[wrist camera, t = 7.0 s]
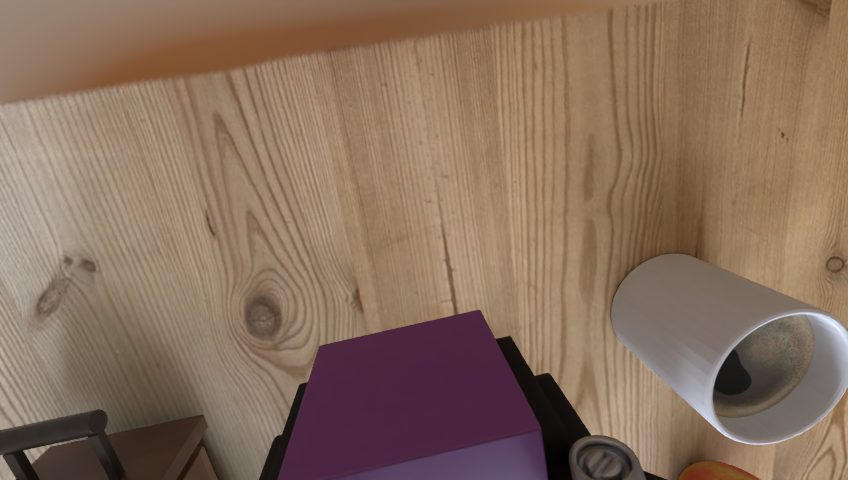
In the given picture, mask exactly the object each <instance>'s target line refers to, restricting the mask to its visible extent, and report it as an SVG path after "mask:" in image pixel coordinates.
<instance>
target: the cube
mask: <svg viewBox="0 0 848 480" xmlns="http://www.w3.org/2000/svg"><path fill="white" fill-rule="evenodd" d="M277 480H548V473H547V466H546V459H545V452H544V445H543V438H542V431H541V426H540V425H539V423H538V421H537V419H536V417H535V415H534V413H533V411H532V409H531V407H530V405H529V403H528V401H527V399H526V398H525V396H524V394H523V392H522V390H521V388H520V386H519V384H518V382H517V380H516V378H515V376H514V374H513V372H512V370H511V369H510V367H509V365H508V363H507V361H506V359H505V357H504V355H503V353H502V351H501V349H500V347H499V345H498V343H497V342H496V340H495V338H494V336H493V334H492V332H491V330H490V328H489V326H488V324H487V322H486V320H485V318H484V316H483V315H482V313H481V311H480V310H476V311H471V312H467V313H463V314H458V315H454V316H449V317H445V318H440V319H436V320H432V321H427V322H423V323H418V324H414V325H409V326H405V327H401V328H396V329H392V330H387V331H383V332H379V333H374V334H370V335H365V336H361V337H356V338H352V339H348V340H343V341H339V342H334V343H330V344H325V345H321V346H319V349H318V352H317V355H316V358H315V361H314V364H313V368H312V371H311V374H310V377H309V380H308V384H307V387H306V390H305V393H304V396H303V399H302V403H301V406H300V409H299V412H298V415H297V419H296V422H295V425H294V428H293V431H292V435H291V438H290V441H289V444H288V447H287V450H286V454H285V457H284V460H283V463H282V466H281V470H280V473H279V476H278V479H277Z"/></svg>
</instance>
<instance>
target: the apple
mask: <svg viewBox="0 0 848 480" xmlns="http://www.w3.org/2000/svg"><path fill="white" fill-rule="evenodd" d="M678 480H760V479H758V478H757V477H755V476H754V475H752V474H750V473H748V472H746V471H744V470H742V469H740V468H737V467H735V466H732V465H729V464H725V463H721V462H715V461H703V462H697V463H694V464H692V465H690V466H688V467H687V468H686V469H684V470H683V472H682V473H681V474H680V476H679V478H678Z"/></svg>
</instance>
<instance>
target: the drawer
mask: <svg viewBox="0 0 848 480" xmlns="http://www.w3.org/2000/svg"><path fill="white" fill-rule="evenodd" d="M107 421H108V418H107V414H106V412H105V411H103V410H100V409H98V410H93V411H89V412H84V413H79V414H75V415H70V416H65V417H60V418H56V419H51V420H46V421H42V422H37V423H32V424H27V425H23V426H18V427H13V428H8V429H4V430H0V455H3V454H4V455H3V458H4V459H5V461H6V462H7V464H8V466H9V467H10V469H11V471H12V472H13V474H14V476H15V477H16V480H218V479H217V477H216V475H215V472H214V470H213V467H212V465H211V463H210V460H209V458H208V456H207V453H206V451H205V449H204V446H200V447H196V446H197V444H198V443H199V441H200V439H201V438H202V436H203V435H204V433H205V431H206V430H207V428H208V425H207V422H206V420H205V417H204V415H203V414H202V415H197V416H193V417H188V418H183V419H179V420H174V421H169V422H165V423H160V424H155V425H151V426H146V427H141V428H137V429H132V430H127V431H123V432H118V433H113V434H109V435H107V434H106V432H105V431H104V429H105V428H106V426H107ZM83 437H88V439H85V440H81V441H76V442H71V443H67V444H62V445H57V446H53V447H50V448H49V449H48V450H47V451H45V452H44V453H43V454H42V455H41V456H40V457H39V458H38V459H37V460H36V461H35V462H34V463H33V464H32V465H31V463H30V462H29V460H28V458H27V456H26V455H25V453H24V451H23V450H27V449H31V448H36V447H41V446H45V445H50V444H55V443H59V442H64V441H69V440H73V439H78V438H83Z"/></svg>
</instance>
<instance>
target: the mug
mask: <svg viewBox="0 0 848 480" xmlns="http://www.w3.org/2000/svg"><path fill="white" fill-rule="evenodd" d="M611 320H612V326H613V329H614V331H615V334H616V335H617V337H618V339H619V340H620V341H621V342H622V343H623V345H624V346H626V347H627V348H628V349H629V350H630V351H631V352H632V353H633V354H634V355H635V356H637V357H638V358H639V359H640V360H641V361H642V362H643V363H644V364H645V365H647V366H648V367H649V368H650V369H651V370H652V371H653V372H654V373H655V374H656V375H658V376H659V377H660V378H661V379H662V380H663V381H664V382H665V383H666V384H667V385H669V386H670V387H671V388H672V389H673V390H674V391H675V392H676V393H677V394H679V395H680V396H681V397H682V398H683V399H684V400H685V401H686V402H687V403H688V404H690V405H691V406H692V407H693V408H694V409H695V410H696V411H697V412H698V413H699V414H701V415H702V416H703V417H704V418H705V419H706V420H707V421H708V422H709V423H711V424H712V425H713V426H714V427H715V428H716V429H717V430H718V431H719V432H721V433H722V434H724V435H725V436H726V437H728V438H731V439H733V440H735V441H737V442H741V443H745V444H753V445H763V444H772V443H777V442H781V441H784V440H787V439H790V438H792V437H794V436H797V435H799V434H801V433H802V432H804V431H806V430H808V429H809V428H811V427H812V426H814V425H815V424H816V423H818V422H819V421H820V420H821V419H822V418H824V417H825V416H826V415H827V414H828V413H829V412H830V411H831V410H832V409H833V407H834V406H835V405H836V404H837V403H838V401H839V400H840V398H841V397H842V395H843V394H844V392H845V390H846V388H847V386H848V329H847V328H846V326H845V325H844V324H843V323H842V322H841V321H840V320H838V319H837V318H836V317H835V316H833V315H831V314H830V313H828V312H826V311H823V310H821V309H819V308H816V307H814V306H811V305H809V304H806V303H804V302H802V301H799V300H797V299H794V298H792V297H790V296H787V295H785V294H782V293H780V292H777V291H775V290H773V289H770V288H768V287H765V286H763V285H760V284H758V283H756V282H753V281H751V280H748V279H746V278H743V277H741V276H739V275H736V274H734V273H731V272H729V271H727V270H724V269H722V268H719V267H717V266H714V265H712V264H710V263H707V262H705V261H702V260H700V259H697V258H695V257H692V256H689V255H685V254H666V255H660V256H657V257H654V258H651V259H649V260H647V261H645V262H643V263H642V264H640V265H639V266H637V267H636V268H635V269H634V270H632V271H631V272H630V273H629V274H628V275H627V277H626V278H625V279H624V280H623V281H622V283H621V284H620V286H619V288H618V290H617V292H616V294H615V296H614V299H613V302H612V308H611Z"/></svg>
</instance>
